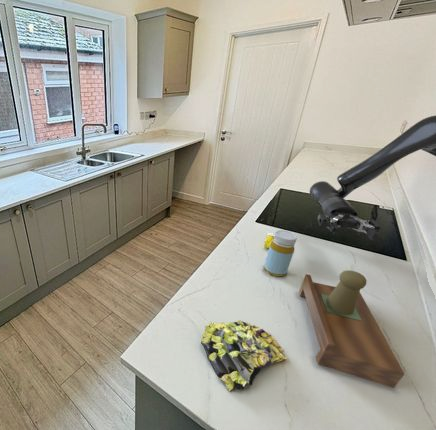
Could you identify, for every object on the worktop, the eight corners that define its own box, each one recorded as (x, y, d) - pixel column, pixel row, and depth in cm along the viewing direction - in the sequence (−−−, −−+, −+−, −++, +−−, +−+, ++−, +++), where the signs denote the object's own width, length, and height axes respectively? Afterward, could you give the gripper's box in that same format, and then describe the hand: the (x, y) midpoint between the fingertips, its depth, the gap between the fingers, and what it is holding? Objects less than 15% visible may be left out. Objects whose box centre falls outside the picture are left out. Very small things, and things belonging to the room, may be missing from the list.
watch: (268, 251, 104) (272, 238, 101) (261, 248, 106) (264, 235, 103) (274, 245, 107) (278, 232, 105) (267, 242, 109) (270, 230, 106)
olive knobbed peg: (352, 303, 72) (368, 271, 67) (355, 318, 68) (373, 285, 63) (325, 294, 75) (339, 264, 70) (326, 308, 71) (341, 277, 66)
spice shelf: (353, 304, 79) (363, 285, 75) (394, 387, 57) (410, 366, 54) (298, 292, 84) (305, 273, 80) (317, 364, 62) (328, 343, 59)
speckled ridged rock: (256, 322, 75) (269, 310, 70) (292, 388, 63) (310, 379, 58) (192, 325, 70) (202, 313, 66) (218, 396, 58) (231, 387, 54)
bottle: (288, 270, 93) (300, 234, 86) (282, 280, 89) (295, 242, 82) (266, 262, 98) (277, 227, 91) (260, 271, 93) (271, 235, 86)
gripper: (316, 198, 89) (329, 218, 75) (369, 204, 83) (394, 227, 70) (309, 217, 92) (321, 240, 79) (360, 224, 87) (381, 250, 74)
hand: (355, 234), depth 74 cm, fingers open, 8 cm apart
